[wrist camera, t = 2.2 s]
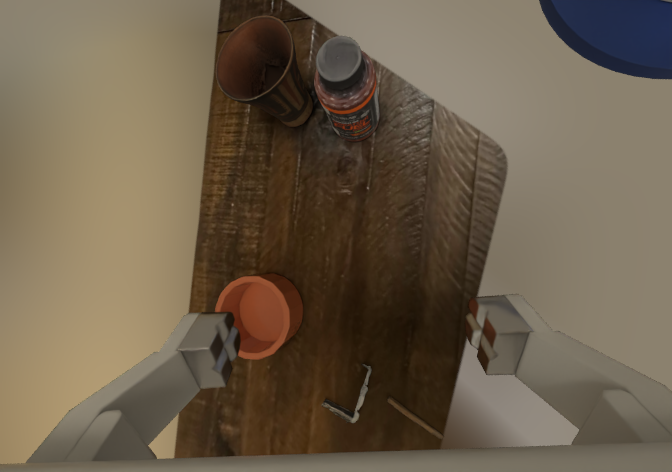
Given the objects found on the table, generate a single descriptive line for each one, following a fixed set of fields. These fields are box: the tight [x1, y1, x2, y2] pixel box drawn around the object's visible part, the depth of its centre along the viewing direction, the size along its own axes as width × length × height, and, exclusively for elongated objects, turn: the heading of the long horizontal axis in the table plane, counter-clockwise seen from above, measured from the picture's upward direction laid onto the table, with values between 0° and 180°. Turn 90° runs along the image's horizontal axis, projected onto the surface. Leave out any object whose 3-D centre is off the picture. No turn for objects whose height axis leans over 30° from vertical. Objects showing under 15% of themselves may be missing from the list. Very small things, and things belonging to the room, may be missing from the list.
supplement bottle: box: [314, 36, 380, 142], centre depth 29 cm, size 6×6×11 cm
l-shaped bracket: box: [322, 364, 371, 423], centre depth 32 cm, size 7×1×5 cm
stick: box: [387, 396, 444, 439], centre depth 31 cm, size 7×1×1 cm, turn 59°
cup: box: [216, 16, 313, 127], centre depth 31 cm, size 9×9×10 cm
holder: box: [215, 273, 303, 359], centre depth 33 cm, size 9×9×4 cm
